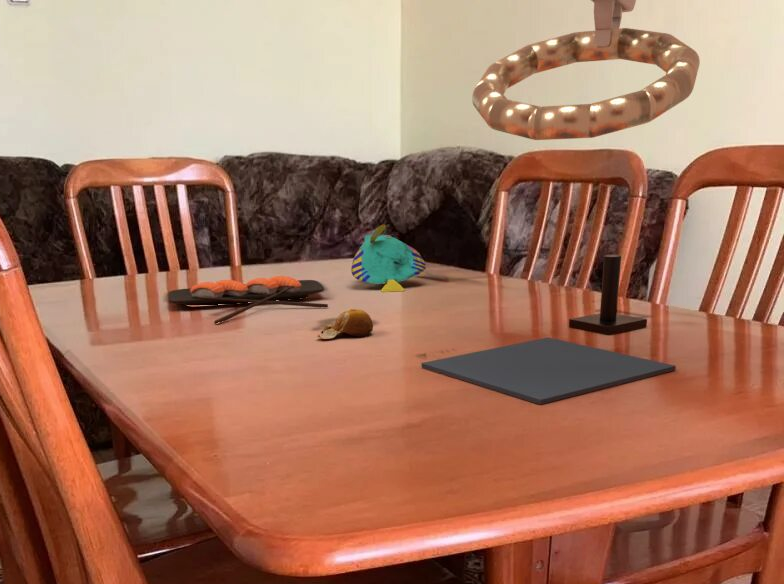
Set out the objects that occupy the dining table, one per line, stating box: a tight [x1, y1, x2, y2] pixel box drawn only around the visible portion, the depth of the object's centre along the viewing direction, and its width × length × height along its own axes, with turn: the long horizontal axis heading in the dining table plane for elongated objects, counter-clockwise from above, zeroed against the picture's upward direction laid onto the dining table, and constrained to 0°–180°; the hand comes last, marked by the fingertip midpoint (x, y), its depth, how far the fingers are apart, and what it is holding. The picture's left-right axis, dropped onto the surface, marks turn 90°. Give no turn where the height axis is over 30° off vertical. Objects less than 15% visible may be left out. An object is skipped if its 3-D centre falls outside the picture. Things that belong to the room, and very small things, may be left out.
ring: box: [471, 27, 701, 141], centre depth 94 cm, size 24×24×3 cm
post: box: [568, 254, 648, 336], centre depth 121 cm, size 8×8×10 cm
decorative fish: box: [351, 224, 427, 293], centre depth 167 cm, size 20×12×15 cm
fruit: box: [316, 308, 374, 340], centre depth 125 cm, size 8×8×4 cm
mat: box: [421, 336, 677, 406], centre depth 103 cm, size 22×22×1 cm
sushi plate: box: [167, 275, 329, 324], centre depth 151 cm, size 29×30×4 cm
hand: (605, 48), depth 100 cm, fingers closed on ring, 3 cm apart
